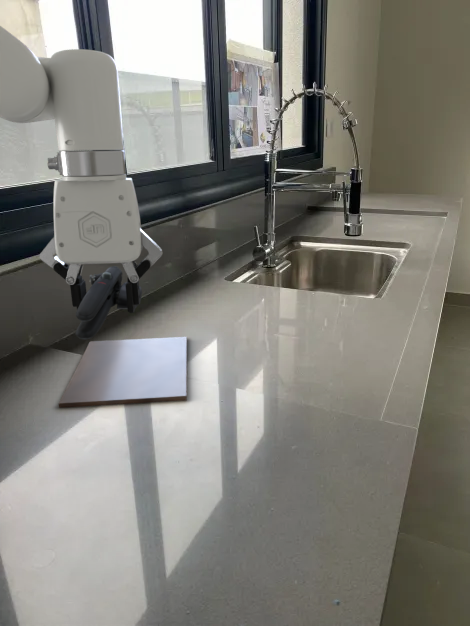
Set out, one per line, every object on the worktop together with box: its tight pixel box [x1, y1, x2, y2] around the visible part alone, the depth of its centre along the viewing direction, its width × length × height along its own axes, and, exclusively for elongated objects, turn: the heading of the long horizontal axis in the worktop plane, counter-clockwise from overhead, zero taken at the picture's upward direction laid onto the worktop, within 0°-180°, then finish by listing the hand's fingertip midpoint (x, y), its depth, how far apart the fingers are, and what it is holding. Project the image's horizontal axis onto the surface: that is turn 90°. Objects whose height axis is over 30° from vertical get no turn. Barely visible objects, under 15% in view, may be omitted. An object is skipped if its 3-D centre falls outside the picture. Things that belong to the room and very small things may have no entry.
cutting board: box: [57, 336, 188, 409], centre depth 82 cm, size 18×24×2 cm
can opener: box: [75, 265, 143, 341], centre depth 64 cm, size 18×7×6 cm, turn 176°
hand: (107, 309), depth 65 cm, fingers closed on can opener, 5 cm apart
